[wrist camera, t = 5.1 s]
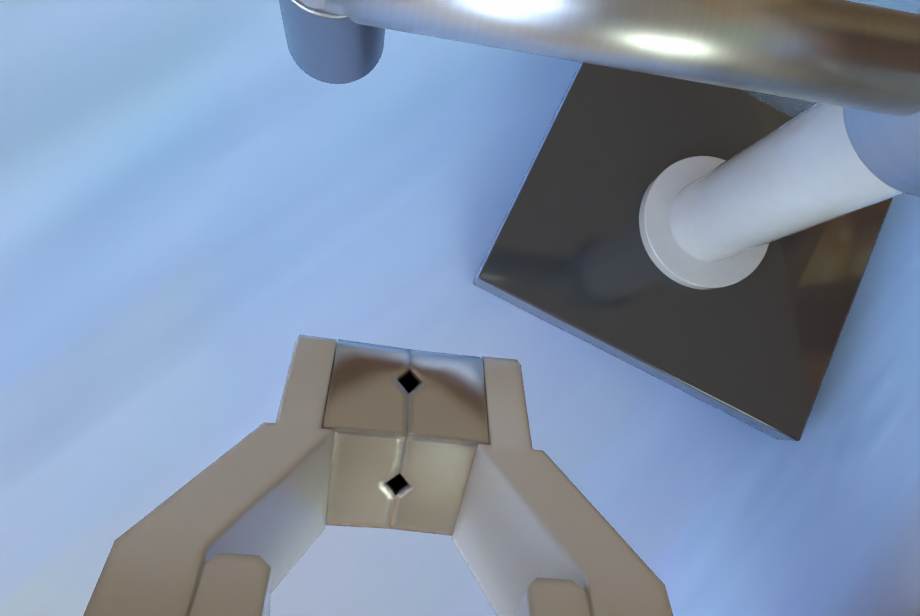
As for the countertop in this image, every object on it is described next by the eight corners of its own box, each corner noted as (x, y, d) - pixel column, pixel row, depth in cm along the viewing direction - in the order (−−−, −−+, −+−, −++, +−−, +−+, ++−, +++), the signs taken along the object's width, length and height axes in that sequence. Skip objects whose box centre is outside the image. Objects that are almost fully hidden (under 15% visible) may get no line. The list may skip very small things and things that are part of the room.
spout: (958, 71, 19) (1117, -15, 15) (956, 218, 18) (1121, 170, 14) (299, -49, 17) (281, -187, 13) (275, 114, 16) (248, 23, 12)
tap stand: (471, 283, 28) (557, 200, 16) (594, 33, 30) (752, -208, 18) (777, 439, 29) (1073, 470, 17) (876, 187, 31) (1201, 56, 19)
